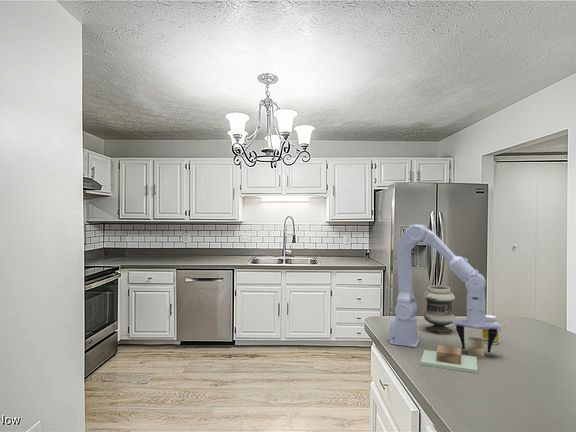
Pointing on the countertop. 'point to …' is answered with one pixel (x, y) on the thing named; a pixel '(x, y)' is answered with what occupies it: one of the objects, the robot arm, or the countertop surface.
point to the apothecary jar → (439, 309)
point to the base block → (449, 354)
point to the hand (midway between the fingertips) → (476, 349)
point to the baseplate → (466, 363)
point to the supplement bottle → (485, 332)
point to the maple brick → (476, 347)
